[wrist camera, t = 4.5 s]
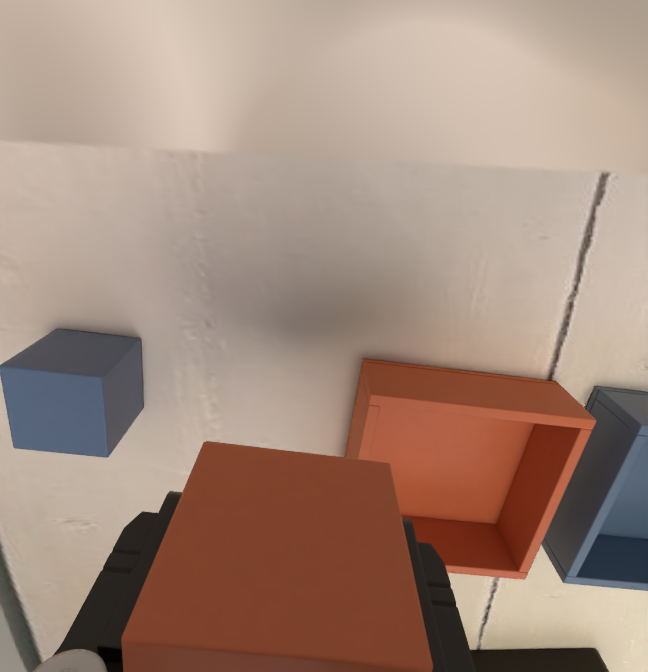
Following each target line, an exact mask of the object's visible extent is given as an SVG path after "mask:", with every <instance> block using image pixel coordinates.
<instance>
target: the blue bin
mask: <svg viewBox="0 0 648 672" xmlns="http://www.w3.org/2000/svg"><path fill="white" fill-rule="evenodd" d="M586 410H587V411H588V412H589V413H590V414H591V415H592V416H593V417H594V418H595V419H596V423H595V425H594V427H593V429H592V432H591V434H590V436H589V438H588V441H587V443H586V445H585V447H584V450H583V452H582V454H581V456H580V458H579V461H578V463H577V465H576V467H575V470H574V472H573V474H572V476H571V478H570V481H569V483H568V485H567V487H566V490H565V492H564V494H563V496H562V498H561V501H560V503H559V505H558V507H557V510H556V512H555V514H554V516H553V518H552V521H551V523H550V525H549V527H548V530H547V532H546V534H545V536H544V538H543V541H542V543H541V545H542V546H543V548H544V550H545V552H546V553H547V555H548V557H549V559H550V560H551V562H552V564H553V566H554V568H555V569H556V571H557V573H558V575H559V576H560V578H561V580H562V582H563V583H568V584H579V585H590V586H601V587H612V588H623V589H634V590H645V591H648V392H641V391H632V390H624V389H615V388H607V387H598V386H595V388H594V391H593V393H592V395H591V398H590V400H589V402H588V405H587V407H586Z"/></svg>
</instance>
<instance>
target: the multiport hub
mask: <svg viewBox="0 0 648 672" xmlns="http://www.w3.org/2000/svg"><path fill="white" fill-rule="evenodd" d="M470 652H471V655H472V659H473V662H474V666H475V669H476V672H609V671H608V669H607V667H606V665H605V663H604V662H603V660H602V658H601V656H600V654H599V653H598V651H597V650H596V649H544V650H489V651H470Z"/></svg>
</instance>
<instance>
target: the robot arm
mask: <svg viewBox="0 0 648 672" xmlns="http://www.w3.org/2000/svg"><path fill="white" fill-rule="evenodd" d="M181 495H182V492H173V491H170V492H169V493H168V494H167V496H166V498H165V500H164V502H163V504H162V507H161V509H160V511H159V513H151V512H141V513H140V514H139V515H138V516H137V517H136V518H135V519H134V520H132V521H131V522H130V523H129V524H128V525H127V526H126V527H125V528H124V529H123V531H122V533H121V535H120V537H119V539H118V540H117V542H116V544H115V546H114V548H113V551H112V553H110V555H109V557H108V559H107V561H106V563H105V565H104V567H103V570H102V571H101V572H100V574H99V576H98V578H97V580H96V581H95V583H94V585H93V587H92V589H91V591H90V593H89V594H88V596H87V598H86V600H85V602H84V604H83V606H82V607H81V609H80V611H79V613H78V615H77V617H76V619H75V621H74V622H73V624H72V626H71V628H70V630H69V632H68V634H67V635H66V637H65V639H64V641H63V642H62V644H61V646H60V647H59V649H58V650H57V651H56V652H55V654H54V655H53V656H52V657H51V658H49V659H47V660H46V661H44V662H43V663H42V664H40V665H39V666H38V667H37V668H35V669H34V670H33V671H32V672H123V658H122V642H121V639H122V635H123V633H124V630H125V628H126V626H127V623H128V621H129V618H130V616H131V614H132V611H133V609H134V607H135V604H136V602H137V599H138V597H139V595H140V592H141V590H142V588H143V585H144V583H145V580H146V578H147V576H148V573H149V571H150V569H151V566H152V564H153V562H154V559H155V557H156V554H157V552H158V550H159V547H160V545H161V543H162V540H163V538H164V535H165V533H166V531H167V528H168V526H169V524H170V521H171V519H172V516H173V514H174V512H175V509H176V507H177V505H178V502H179V500H180V497H181ZM402 522H403V526H404V531H405V536H406V541H407V545H408V550H409V555H410V559H411V564H412V569H413V574H414V578H415V583H416V588H417V592H418V597H419V602H420V607H421V611H422V616H423V621H424V625H425V630H426V635H427V640H428V644H429V649H430V654H431V659H432V663H433V670H432V672H476V669H475V666H474V662H473V659H472V655H471V652H470V649H469V645H468V642H467V638H466V635H465V632H464V628H463V625H462V621H461V618H460V615H459V611H458V608H457V607H456V601H455V597H454V594H453V591H452V589H451V587H450V586H451V584H450V580H449V577H448V574H447V570H446V567H445V563H444V562H443V560H442V559H441V557H440V556H439V555H438V553H437V552H436V550H435V549H434V547H433V546H432V545H431V543H422V542H417V539H416V535H415V531H414V527H413V523H412V521H411V519H410V518H402Z"/></svg>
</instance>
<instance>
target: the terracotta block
mask: <svg viewBox="0 0 648 672" xmlns="http://www.w3.org/2000/svg"><path fill="white" fill-rule="evenodd" d="M121 642H122V658H123V672H432V670H433V663H432V659H431V654H430V649H429V644H428V640H427V635H426V630H425V625H424V621H423V616H422V611H421V607H420V602H419V597H418V592H417V588H416V583H415V578H414V574H413V569H412V564H411V559H410V555H409V550H408V545H407V541H406V536H405V531H404V526H403V522H402V517H401V512H400V508H399V503H398V498H397V493H396V489H395V484H394V479H393V475H392V470H391V465H390V463H386V462H378V461H369V460H361V459H353V458H344V457H336V456H327V455H319V454H311V453H302V452H294V451H285V450H277V449H268V448H260V447H252V446H243V445H235V444H226V443H218V442H209V441H206V442H204V443H203V445H202V448H201V450H200V452H199V455H198V457H197V459H196V462H195V464H194V467H193V469H192V471H191V474H190V476H189V478H188V481H187V483H186V486H185V488H184V490H183V493H182V495H181V497H180V500H179V502H178V505H177V507H176V509H175V512H174V514H173V516H172V519H171V521H170V524H169V526H168V528H167V531H166V533H165V535H164V538H163V540H162V543H161V545H160V547H159V550H158V552H157V554H156V557H155V559H154V562H153V564H152V566H151V569H150V571H149V573H148V576H147V578H146V580H145V583H144V585H143V588H142V590H141V592H140V595H139V597H138V599H137V602H136V604H135V607H134V609H133V611H132V614H131V616H130V618H129V621H128V623H127V626H126V628H125V630H124V633H123V635H122V639H121Z"/></svg>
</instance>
